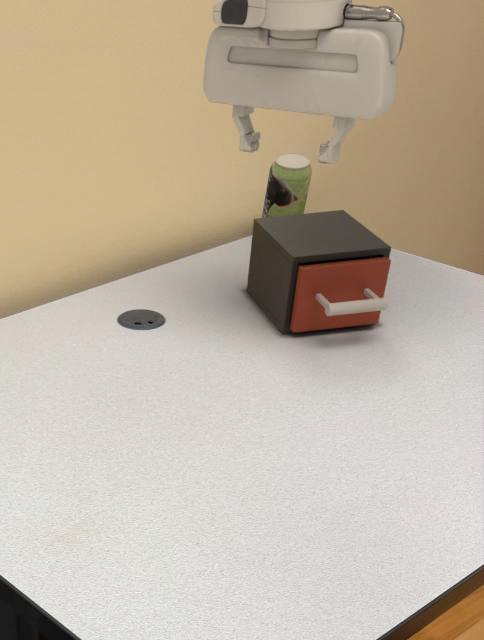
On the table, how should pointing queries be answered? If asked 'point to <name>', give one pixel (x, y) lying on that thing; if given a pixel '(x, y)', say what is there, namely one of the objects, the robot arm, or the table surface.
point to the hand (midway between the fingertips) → (287, 156)
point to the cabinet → (301, 255)
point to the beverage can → (287, 185)
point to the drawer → (339, 293)
